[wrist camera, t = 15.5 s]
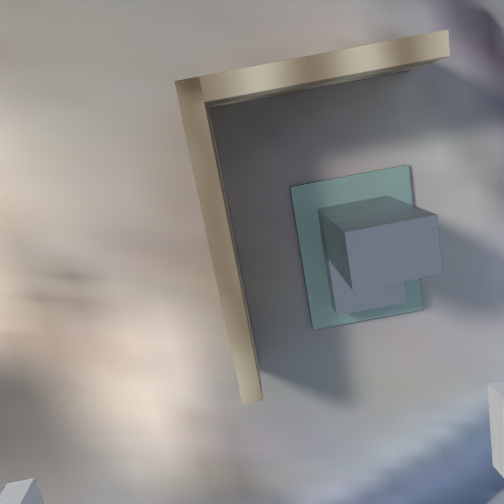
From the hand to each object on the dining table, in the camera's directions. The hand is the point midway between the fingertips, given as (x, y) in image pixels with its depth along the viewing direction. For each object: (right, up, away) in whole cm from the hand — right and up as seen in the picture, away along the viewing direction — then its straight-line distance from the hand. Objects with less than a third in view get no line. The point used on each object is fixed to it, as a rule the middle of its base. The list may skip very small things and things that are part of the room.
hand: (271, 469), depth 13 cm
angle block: (+9, +6, +27) cm, 29 cm away
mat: (+9, +6, +28) cm, 30 cm away
